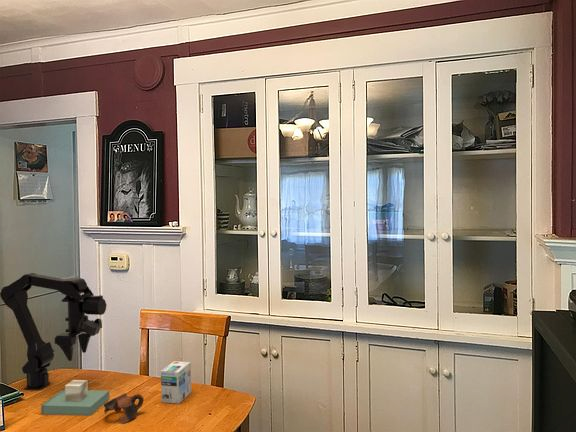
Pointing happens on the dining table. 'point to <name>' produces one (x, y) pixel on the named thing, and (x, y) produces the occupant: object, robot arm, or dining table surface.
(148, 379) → the dining table surface
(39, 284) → the robot arm
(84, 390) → the wooden cube
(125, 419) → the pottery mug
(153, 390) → the dining table surface
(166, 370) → the light bulb box
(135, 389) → the dining table surface
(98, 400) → the green book
